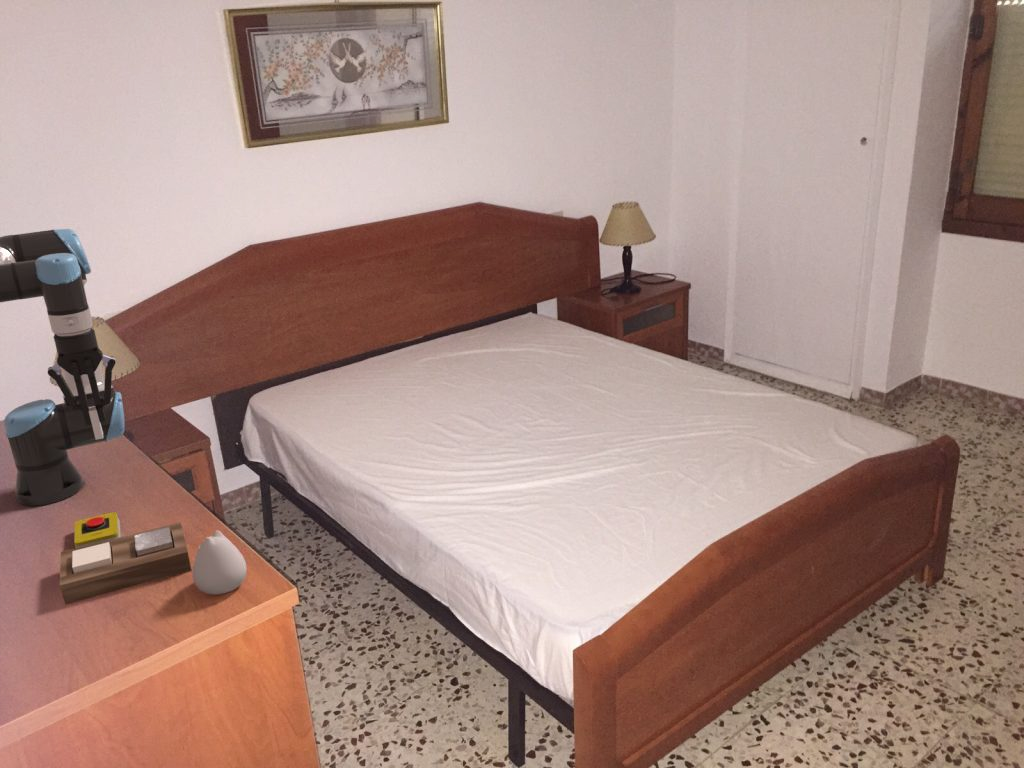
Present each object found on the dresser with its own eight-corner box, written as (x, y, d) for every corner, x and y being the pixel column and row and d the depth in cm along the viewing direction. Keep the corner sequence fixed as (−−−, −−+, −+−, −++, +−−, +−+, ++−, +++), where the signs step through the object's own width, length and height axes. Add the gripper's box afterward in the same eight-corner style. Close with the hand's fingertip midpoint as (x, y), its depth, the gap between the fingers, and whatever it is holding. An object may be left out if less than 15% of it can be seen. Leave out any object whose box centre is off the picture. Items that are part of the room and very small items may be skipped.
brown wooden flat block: (66, 569, 177) (60, 551, 175) (184, 539, 186) (180, 522, 185) (65, 604, 165) (59, 585, 163) (191, 570, 175) (187, 551, 173)
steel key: (137, 549, 179) (134, 535, 178) (172, 540, 182) (169, 527, 180) (139, 565, 173) (136, 551, 172) (175, 555, 176) (172, 541, 174)
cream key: (76, 565, 174) (72, 551, 173) (112, 555, 177) (109, 542, 176) (76, 581, 168) (72, 567, 167) (113, 572, 171) (110, 557, 170)
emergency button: (116, 503, 196) (118, 532, 183) (120, 520, 197) (122, 549, 184) (72, 514, 192) (71, 544, 179) (77, 530, 194) (76, 561, 181)
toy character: (219, 566, 175) (209, 517, 171) (259, 576, 171) (250, 525, 167) (184, 594, 166) (172, 542, 162) (225, 604, 163) (215, 552, 158)
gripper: (36, 341, 162) (65, 450, 171) (109, 330, 167) (133, 436, 176) (38, 331, 169) (65, 437, 177) (107, 321, 174) (131, 424, 182)
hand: (99, 436), depth 176 cm, fingers closed
